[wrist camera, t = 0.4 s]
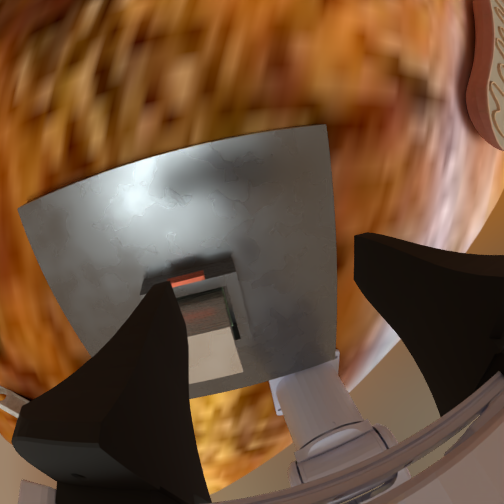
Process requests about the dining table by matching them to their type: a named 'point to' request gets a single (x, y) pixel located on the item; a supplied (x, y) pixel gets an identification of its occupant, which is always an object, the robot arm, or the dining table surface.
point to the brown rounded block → (488, 72)
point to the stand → (204, 245)
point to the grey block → (209, 336)
